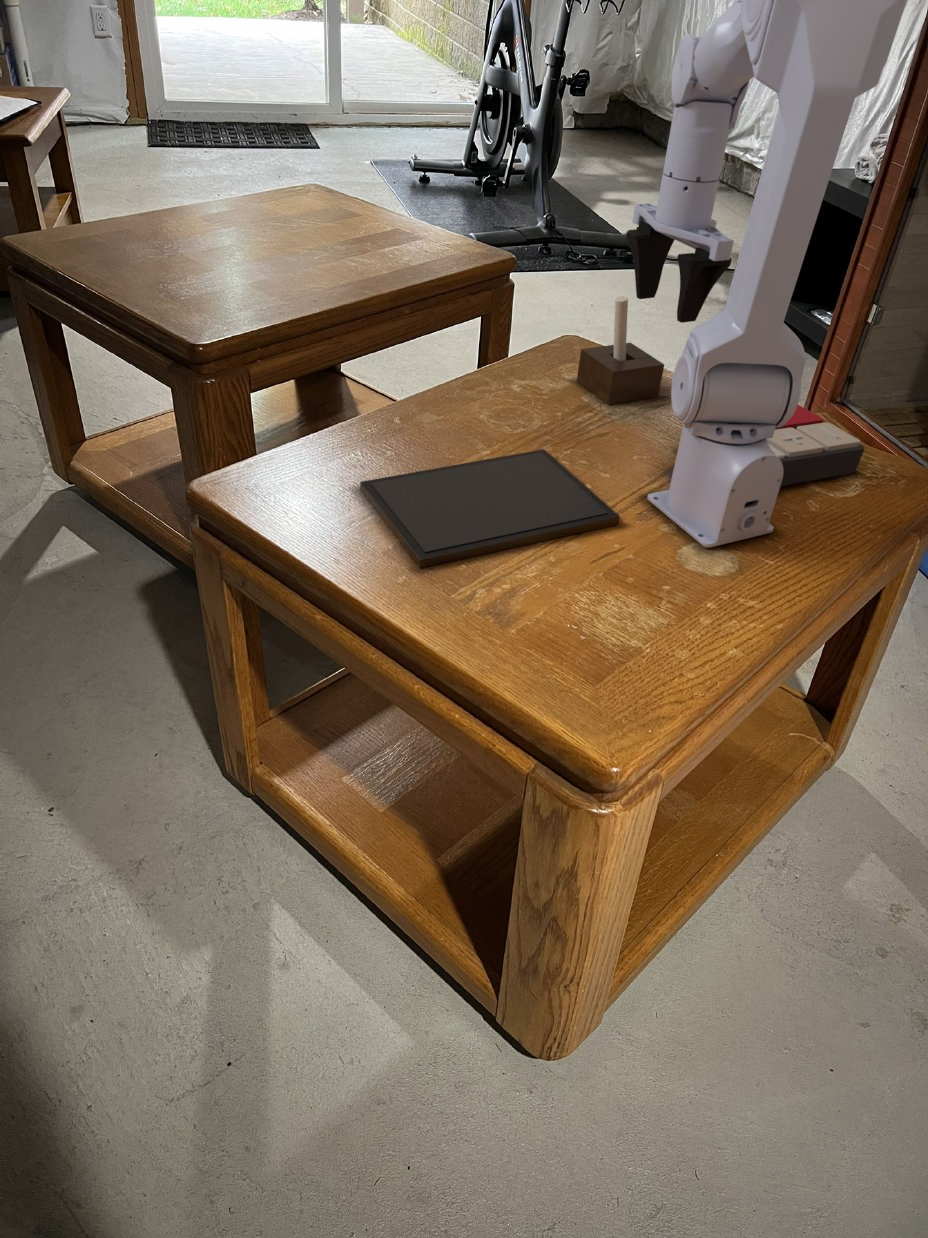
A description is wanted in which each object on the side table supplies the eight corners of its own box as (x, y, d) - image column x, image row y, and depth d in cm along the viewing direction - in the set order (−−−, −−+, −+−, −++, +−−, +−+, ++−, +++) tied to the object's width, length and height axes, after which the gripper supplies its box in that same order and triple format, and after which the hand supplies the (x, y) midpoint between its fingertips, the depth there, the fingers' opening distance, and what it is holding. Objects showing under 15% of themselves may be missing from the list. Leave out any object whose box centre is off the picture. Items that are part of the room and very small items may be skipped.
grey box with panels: (870, 440, 95) (759, 458, 88) (855, 478, 97) (746, 498, 91) (794, 397, 102) (687, 410, 96) (782, 433, 105) (677, 448, 99)
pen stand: (658, 396, 109) (664, 364, 107) (608, 405, 107) (613, 371, 104) (624, 373, 114) (630, 342, 112) (576, 381, 112) (580, 348, 109)
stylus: (626, 389, 110) (630, 298, 103) (616, 392, 110) (619, 302, 103) (620, 384, 111) (623, 294, 104) (610, 387, 111) (612, 297, 104)
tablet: (618, 524, 86) (620, 515, 85) (419, 568, 78) (420, 558, 78) (543, 456, 96) (544, 447, 95) (359, 489, 88) (359, 480, 87)
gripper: (769, 191, 91) (736, 327, 100) (679, 158, 101) (656, 284, 110) (712, 194, 89) (683, 334, 97) (626, 160, 99) (606, 290, 107)
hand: (665, 308), depth 103 cm, fingers open, 7 cm apart
